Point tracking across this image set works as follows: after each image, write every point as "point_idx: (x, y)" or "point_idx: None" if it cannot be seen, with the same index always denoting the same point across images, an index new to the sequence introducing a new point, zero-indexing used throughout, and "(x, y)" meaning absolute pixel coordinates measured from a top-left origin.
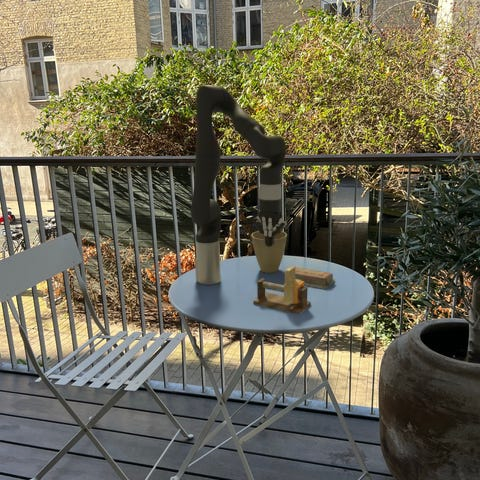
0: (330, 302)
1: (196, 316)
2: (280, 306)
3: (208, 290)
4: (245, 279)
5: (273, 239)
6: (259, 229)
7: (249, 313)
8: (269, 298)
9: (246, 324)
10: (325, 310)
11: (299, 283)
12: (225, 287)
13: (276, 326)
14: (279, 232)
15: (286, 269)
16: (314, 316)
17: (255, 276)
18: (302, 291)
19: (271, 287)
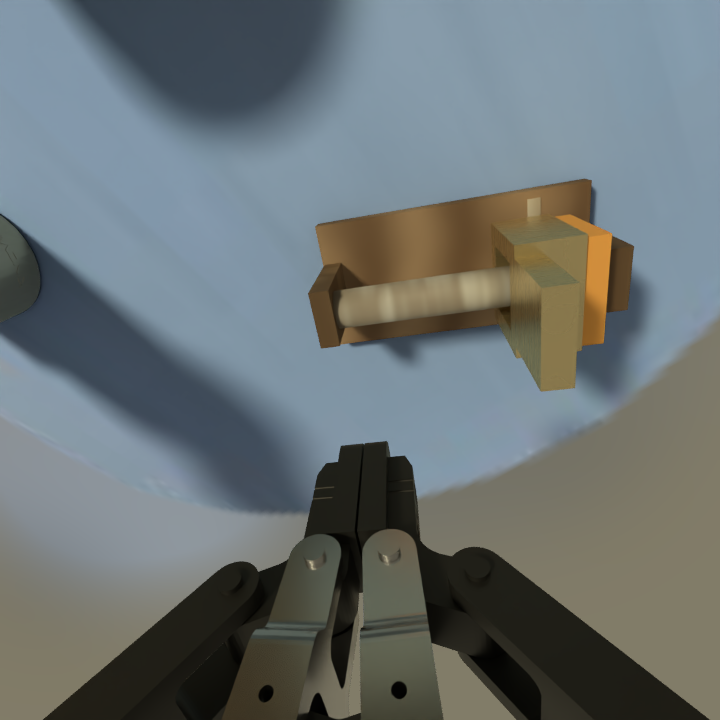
0: (683, 62)
1: (266, 512)
2: (479, 322)
3: (91, 344)
4: (64, 105)
5: (417, 517)
6: (223, 687)
7: (390, 410)
8: (382, 281)
9: (437, 474)
10: (684, 188)
11: (595, 285)
12: (105, 272)
13: (539, 434)
14: (522, 593)
15: (542, 373)
16: (650, 282)
17: (53, 7)
18: (621, 308)
19: (406, 319)
